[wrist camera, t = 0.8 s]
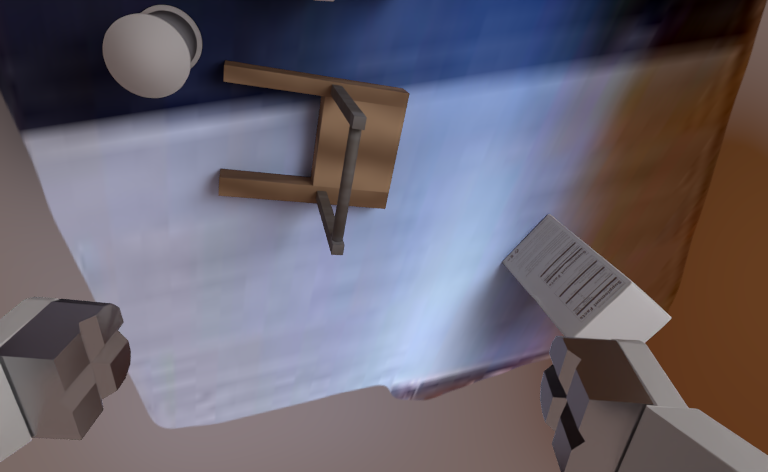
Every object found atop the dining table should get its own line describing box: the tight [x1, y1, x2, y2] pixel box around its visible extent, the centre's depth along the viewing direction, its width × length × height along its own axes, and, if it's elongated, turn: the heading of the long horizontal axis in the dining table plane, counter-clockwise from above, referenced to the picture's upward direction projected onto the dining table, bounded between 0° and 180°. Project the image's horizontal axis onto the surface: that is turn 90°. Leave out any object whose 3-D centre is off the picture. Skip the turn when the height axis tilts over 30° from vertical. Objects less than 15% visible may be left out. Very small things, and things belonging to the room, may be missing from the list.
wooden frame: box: [219, 60, 409, 255], centre depth 45 cm, size 13×18×14 cm
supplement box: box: [503, 214, 671, 343], centre depth 60 cm, size 10×9×17 cm
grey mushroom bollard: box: [103, 5, 202, 98], centre depth 40 cm, size 6×6×11 cm
